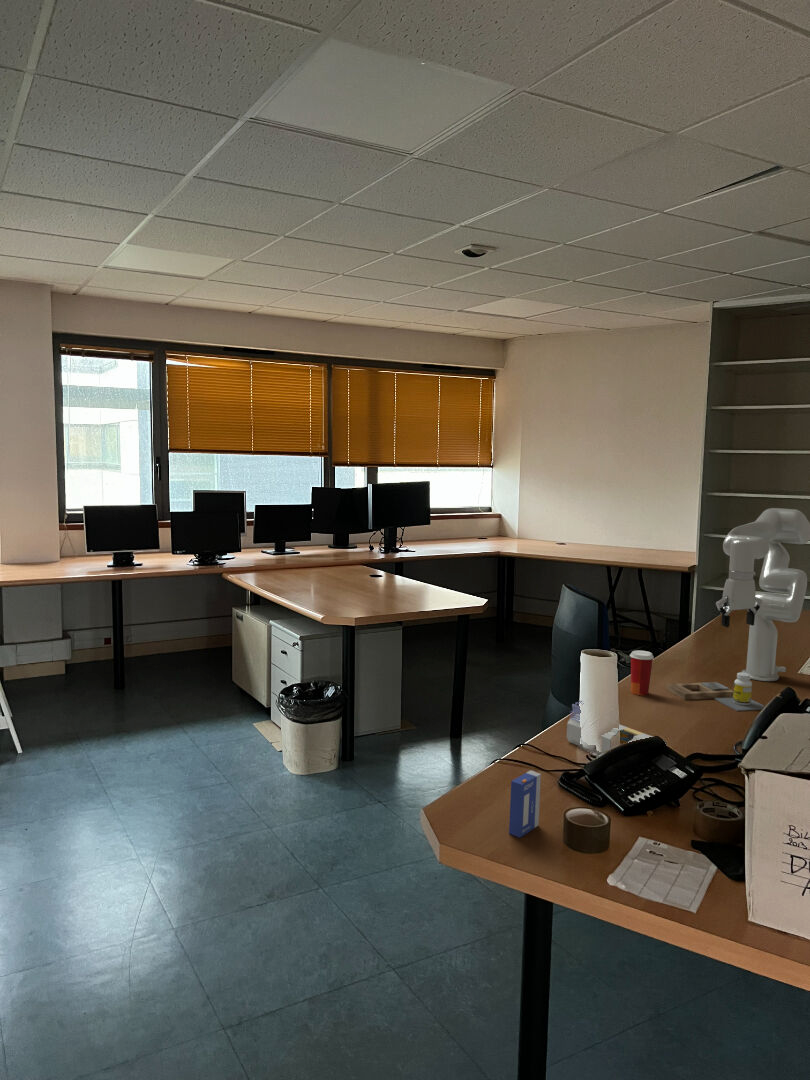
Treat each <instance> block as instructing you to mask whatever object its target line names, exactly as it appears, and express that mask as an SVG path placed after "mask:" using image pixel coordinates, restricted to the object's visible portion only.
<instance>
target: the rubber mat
mask: <svg viewBox="0 0 810 1080" xmlns="http://www.w3.org/2000/svg"><path fill="white" fill-rule="evenodd" d="M713 699H714V700H715V701H717V702H718V703H721V704H722V705H724V706H726V707H728V708H730V709H732V710H734V711H736V712H746V711H748V712H749V711H763V710H762V709H763V708H764V707H765V706H766V705H764V704H761V703H760V702H758V701H755V700H753V699H752V698H751V703H750V704H749V705H739V704H736V703H734V702H733V697H729V698H713Z"/></svg>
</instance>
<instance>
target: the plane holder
mask: <svg viewBox="0 0 810 1080" xmlns="http://www.w3.org/2000/svg"><path fill="white" fill-rule="evenodd" d="M666 691H668V692H670V693H672V694H673V695H675V696H676V697H679V698H680V699H682V700H684V701H686V700H689V701H690V700H705V699H707V700H709V699H710V700H711V699H714V698H729V697H733V692H734V689H730V688H729V687H727V686H725V685H724V684H722V683H719V682H718V681H712V682H706V681H705V682H687V683H685V682H684V683H667V684H666Z"/></svg>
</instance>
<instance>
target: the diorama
mask: <svg viewBox="0 0 810 1080" xmlns="http://www.w3.org/2000/svg"><path fill="white" fill-rule="evenodd" d="M582 701H583V700H578V702H576V701H575V704H574V703H572V704H571V708H572V710H570V713H569V714H570V718H569V720H568V721H567V723H566V739H567V740H568V742H569V743H571V744H573V745H576V746H578V747H580V748H583V747H584V745H583V743H582V744H580V738H581V739H582V736H581V727H580V721H579V720H580V713H581V710H580V703H581V702H582ZM582 703H583V702H582ZM582 703H581V704H582ZM619 731H620V743H621V744H623V743H626V742H628V743H629V742H632V741H636V740H640V739H645V738H649V737H654V736H652V735H649V734H647V733H644V732H641V731H639V730H636V729H633V728H630V727H628V726H625V725H622V724H619V729H618V728H613V729H612V730H611V732H608V733H605V734H604V735H601V738H602V745H601V746H602V752H599V751H597V750H595V753H596V754H597V755H599V756H600V755H601V754H602V753H603V752H605V751H607V750H609V749H611V747H612V746H611V739H612V737H613V736H616V735H617V733H618V732H619ZM663 741H664V742H665V744H666V745H667V743H666V741H665V740H663ZM611 750H612V749H611ZM601 756H602V755H601Z"/></svg>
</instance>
